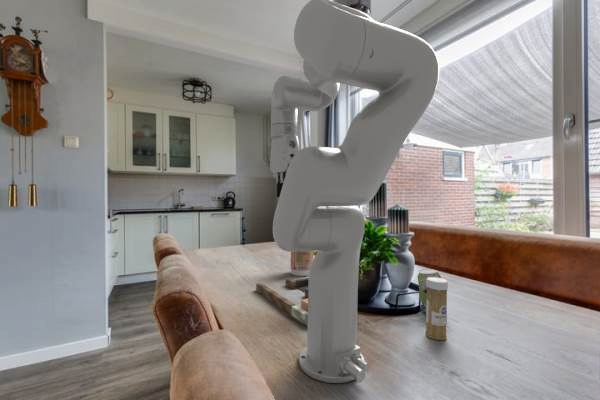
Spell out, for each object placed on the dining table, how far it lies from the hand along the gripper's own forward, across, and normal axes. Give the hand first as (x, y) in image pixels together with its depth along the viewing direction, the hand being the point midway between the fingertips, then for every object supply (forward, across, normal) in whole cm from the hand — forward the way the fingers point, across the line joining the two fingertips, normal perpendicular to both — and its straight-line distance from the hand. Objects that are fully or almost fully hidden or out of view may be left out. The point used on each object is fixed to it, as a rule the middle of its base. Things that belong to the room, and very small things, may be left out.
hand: (282, 197), depth 80 cm
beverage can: (+32, -23, -36) cm, 54 cm away
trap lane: (+32, +3, -11) cm, 34 cm away
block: (+32, -8, -6) cm, 34 cm away
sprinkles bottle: (+32, -32, -24) cm, 51 cm away
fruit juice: (+32, +30, -26) cm, 51 cm away
